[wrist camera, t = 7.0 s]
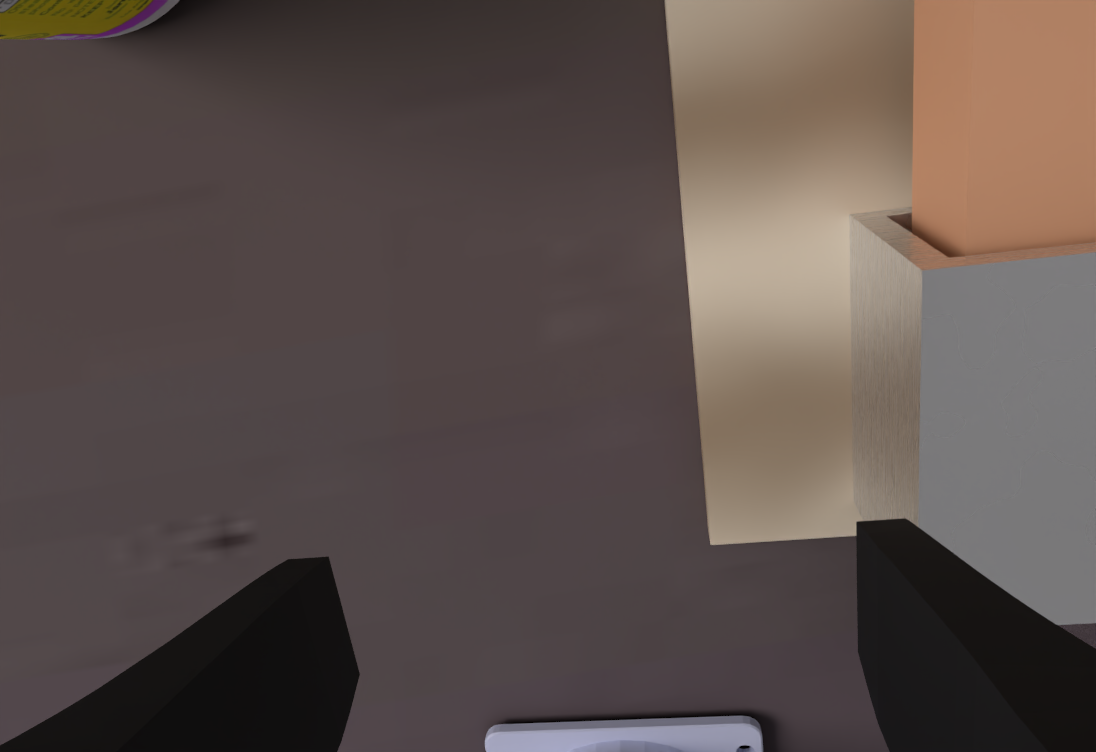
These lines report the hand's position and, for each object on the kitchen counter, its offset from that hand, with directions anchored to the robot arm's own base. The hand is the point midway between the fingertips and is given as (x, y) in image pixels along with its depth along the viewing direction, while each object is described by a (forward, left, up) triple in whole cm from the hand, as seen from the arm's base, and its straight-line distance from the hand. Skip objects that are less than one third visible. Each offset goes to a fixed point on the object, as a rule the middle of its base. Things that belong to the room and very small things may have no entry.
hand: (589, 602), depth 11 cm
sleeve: (0, -8, -9) cm, 12 cm away
